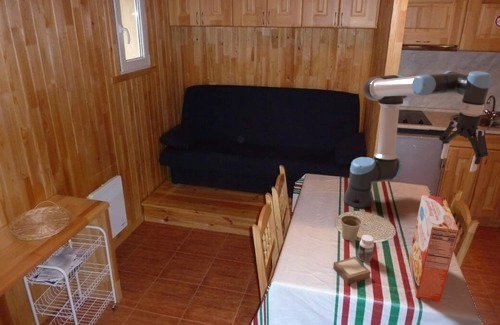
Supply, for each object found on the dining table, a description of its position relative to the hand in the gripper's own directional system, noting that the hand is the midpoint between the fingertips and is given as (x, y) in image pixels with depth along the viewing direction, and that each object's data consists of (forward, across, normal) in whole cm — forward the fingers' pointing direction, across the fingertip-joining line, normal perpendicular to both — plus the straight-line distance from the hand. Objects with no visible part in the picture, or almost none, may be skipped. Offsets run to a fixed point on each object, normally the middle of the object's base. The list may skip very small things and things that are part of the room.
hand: (457, 164), depth 156 cm
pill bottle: (+38, -4, -37) cm, 53 cm away
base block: (+38, +1, -49) cm, 61 cm away
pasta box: (+38, +15, -25) cm, 48 cm away
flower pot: (+38, -19, -34) cm, 54 cm away
